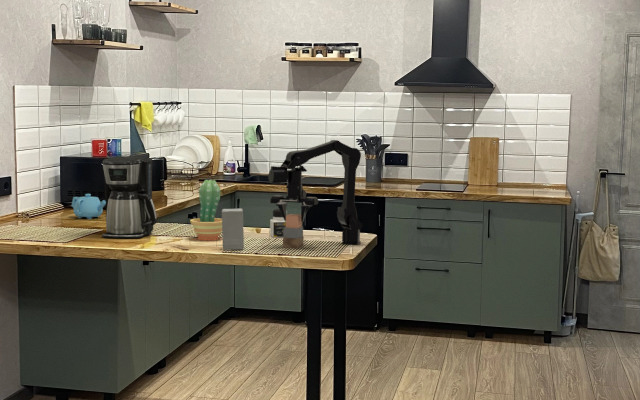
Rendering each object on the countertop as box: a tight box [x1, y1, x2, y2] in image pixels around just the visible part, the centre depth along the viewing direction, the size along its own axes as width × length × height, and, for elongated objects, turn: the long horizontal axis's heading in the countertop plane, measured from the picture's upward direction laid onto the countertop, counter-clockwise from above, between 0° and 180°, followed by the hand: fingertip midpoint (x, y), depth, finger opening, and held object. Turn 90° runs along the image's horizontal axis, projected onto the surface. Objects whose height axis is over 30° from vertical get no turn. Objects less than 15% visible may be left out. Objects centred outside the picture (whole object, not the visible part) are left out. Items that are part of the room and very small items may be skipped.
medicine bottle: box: [269, 208, 288, 239], centre depth 376 cm, size 7×7×12 cm
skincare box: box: [221, 208, 245, 251], centre depth 342 cm, size 8×7×16 cm
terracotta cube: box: [286, 213, 303, 228], centre depth 349 cm, size 5×5×5 cm
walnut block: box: [282, 236, 305, 249], centre depth 350 cm, size 6×6×4 cm
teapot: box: [71, 193, 106, 220], centre depth 426 cm, size 20×17×12 cm
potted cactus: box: [190, 179, 222, 241], centre depth 365 cm, size 15×15×25 cm
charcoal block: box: [284, 226, 304, 239], centre depth 350 cm, size 6×6×4 cm
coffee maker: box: [101, 155, 158, 239], centre depth 375 cm, size 23×32×34 cm
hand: (293, 221), depth 349 cm, fingers open, 7 cm apart
